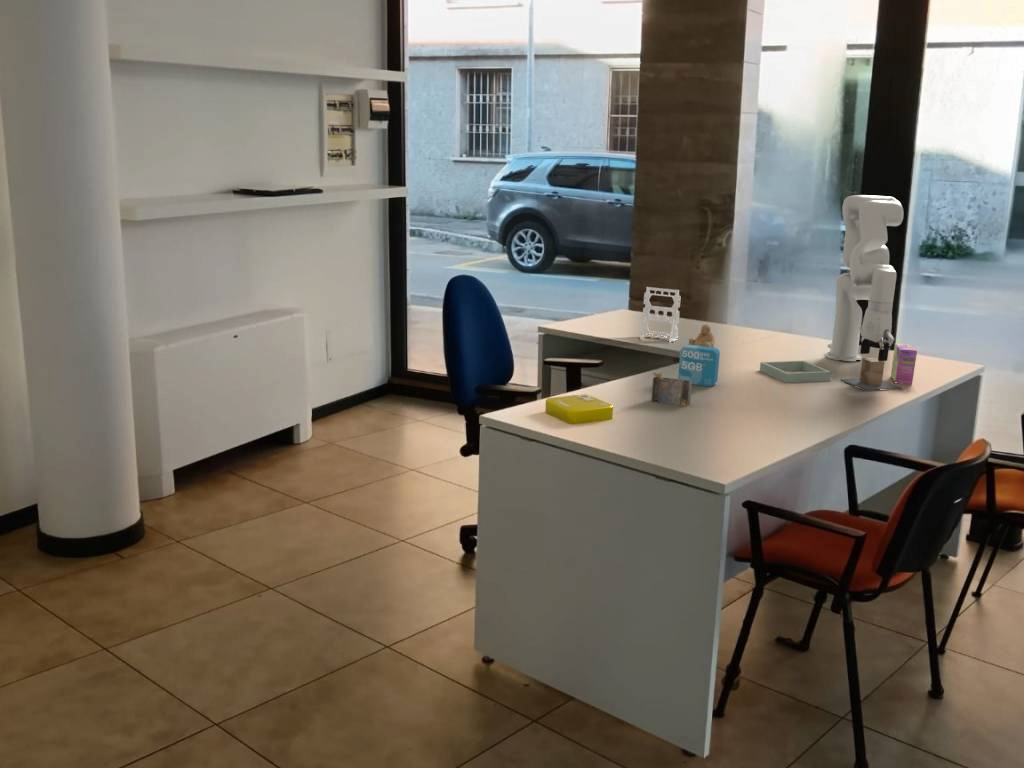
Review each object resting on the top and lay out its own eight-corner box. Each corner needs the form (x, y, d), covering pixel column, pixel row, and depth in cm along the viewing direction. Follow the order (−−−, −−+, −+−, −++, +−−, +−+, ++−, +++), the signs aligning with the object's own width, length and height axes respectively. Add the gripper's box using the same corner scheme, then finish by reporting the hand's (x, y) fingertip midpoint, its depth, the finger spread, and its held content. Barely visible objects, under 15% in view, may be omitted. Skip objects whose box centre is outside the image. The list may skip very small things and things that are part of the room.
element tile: (542, 412, 304) (543, 396, 303) (585, 407, 311) (586, 391, 310) (570, 426, 291) (571, 409, 290) (615, 420, 299) (616, 404, 297)
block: (859, 381, 351) (862, 358, 350) (872, 381, 353) (875, 357, 351) (868, 385, 347) (871, 361, 345) (881, 384, 348) (884, 361, 346)
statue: (731, 331, 377) (713, 325, 371) (720, 368, 378) (702, 363, 372) (706, 325, 387) (688, 319, 380) (695, 362, 388) (677, 357, 381)
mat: (840, 380, 354) (840, 379, 354) (875, 379, 358) (876, 377, 358) (865, 390, 341) (865, 389, 341) (901, 389, 345) (902, 387, 345)
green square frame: (759, 370, 365) (760, 362, 364) (802, 368, 370) (803, 360, 369) (785, 382, 349) (786, 373, 348) (830, 380, 354) (831, 371, 353)
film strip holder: (682, 337, 416) (686, 287, 411) (672, 344, 404) (676, 292, 399) (647, 333, 421) (650, 284, 417) (636, 339, 409) (640, 288, 404)
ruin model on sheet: (650, 403, 319) (653, 371, 316) (653, 400, 321) (655, 369, 319) (687, 407, 315) (690, 376, 312) (689, 405, 318) (692, 374, 315)
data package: (677, 382, 344) (680, 346, 341) (681, 379, 348) (684, 343, 345) (713, 387, 339) (716, 350, 336) (717, 384, 343) (720, 348, 340)
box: (912, 384, 352) (917, 350, 350) (894, 383, 354) (899, 348, 351) (907, 377, 362) (912, 344, 359) (890, 376, 363) (894, 342, 361)
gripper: (854, 301, 351) (848, 351, 355) (886, 312, 335) (879, 364, 339) (874, 300, 353) (867, 350, 357) (906, 311, 337) (899, 363, 341)
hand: (873, 357), depth 348 cm, fingers open, 9 cm apart
